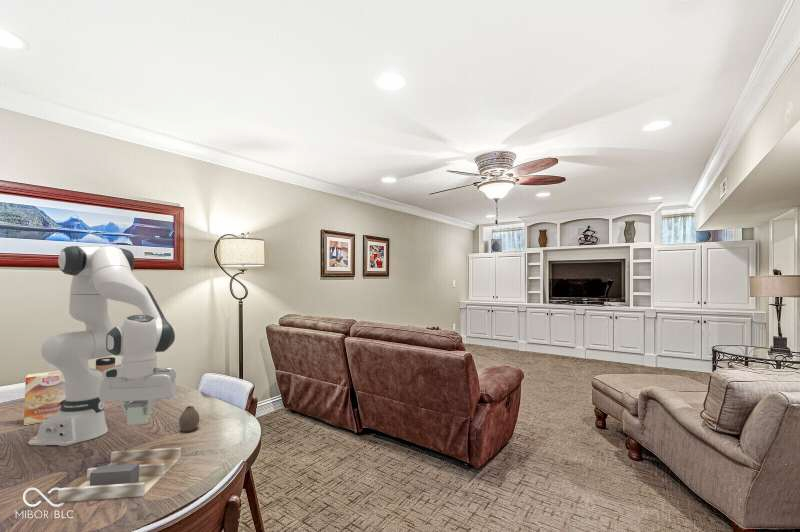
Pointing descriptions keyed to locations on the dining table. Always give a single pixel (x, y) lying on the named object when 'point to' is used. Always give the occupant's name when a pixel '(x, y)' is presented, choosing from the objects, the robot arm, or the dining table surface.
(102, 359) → the travel mug
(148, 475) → the rack
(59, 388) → the coffeecake box
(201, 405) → the dining table surface
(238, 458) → the dining table surface
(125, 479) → the charcoal block
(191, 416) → the vase
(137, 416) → the grey rectangular block
